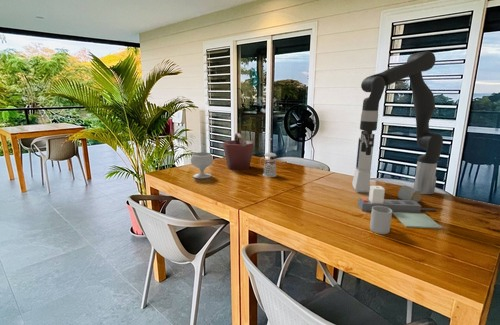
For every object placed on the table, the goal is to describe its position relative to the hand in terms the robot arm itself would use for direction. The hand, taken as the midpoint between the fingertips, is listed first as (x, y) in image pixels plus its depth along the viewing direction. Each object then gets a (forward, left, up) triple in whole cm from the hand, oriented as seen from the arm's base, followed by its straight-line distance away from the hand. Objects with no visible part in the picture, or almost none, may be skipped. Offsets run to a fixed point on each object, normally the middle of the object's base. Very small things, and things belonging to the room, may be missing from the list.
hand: (365, 153), depth 139 cm
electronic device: (-5, -18, -25) cm, 31 cm away
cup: (+1, +32, -25) cm, 41 cm away
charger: (-4, +10, -23) cm, 25 cm away
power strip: (-14, +10, -25) cm, 30 cm away
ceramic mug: (-25, -2, -25) cm, 35 cm away
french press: (+48, -43, -25) cm, 69 cm away
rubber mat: (-17, +22, -25) cm, 37 cm away
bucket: (+71, -62, -25) cm, 98 cm away
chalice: (+91, -34, -25) cm, 100 cm away
